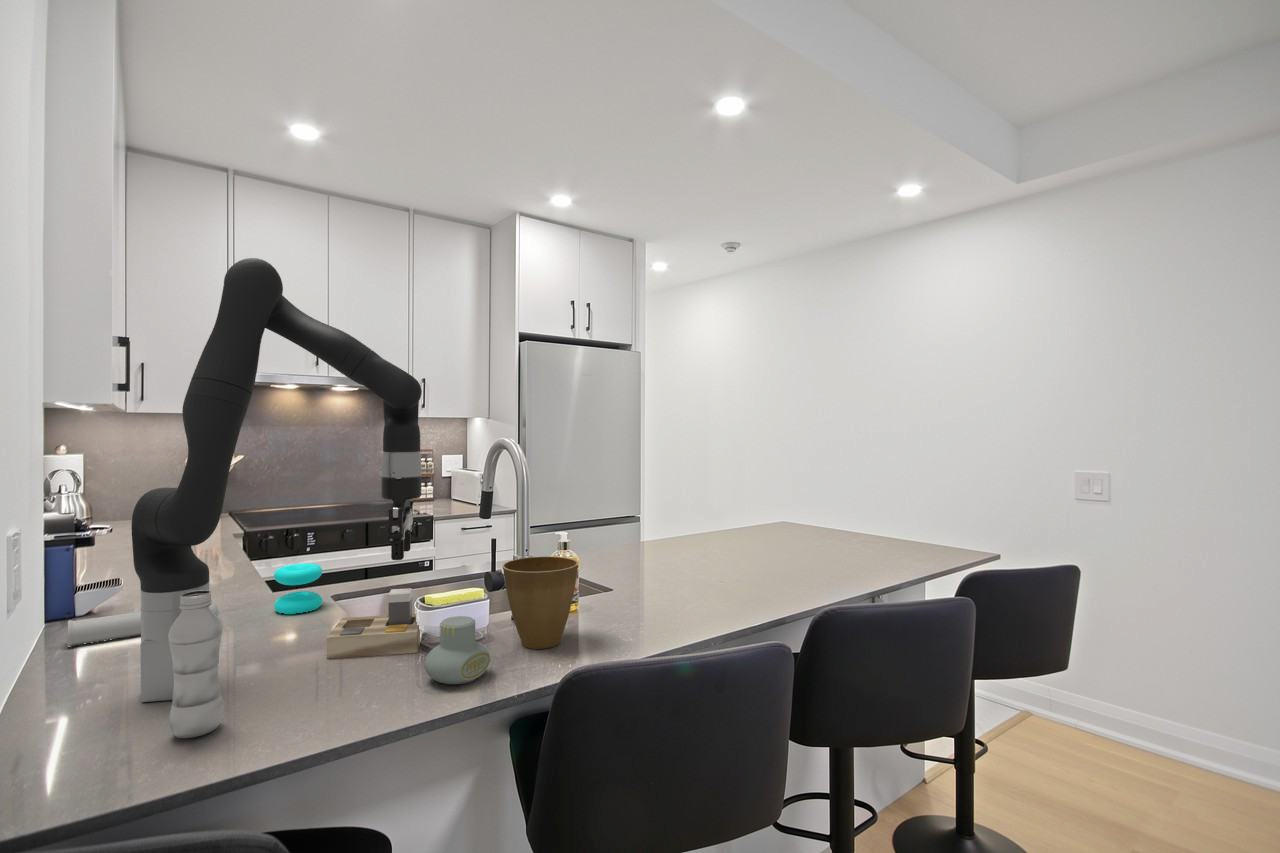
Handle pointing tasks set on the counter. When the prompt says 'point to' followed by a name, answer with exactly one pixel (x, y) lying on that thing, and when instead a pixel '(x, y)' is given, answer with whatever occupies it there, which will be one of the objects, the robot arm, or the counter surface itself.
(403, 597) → the plug
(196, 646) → the plastic bottle
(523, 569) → the plant pot
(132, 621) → the tube
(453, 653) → the air freshener
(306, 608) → the donuts
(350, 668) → the counter surface
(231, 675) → the counter surface
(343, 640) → the socket block
